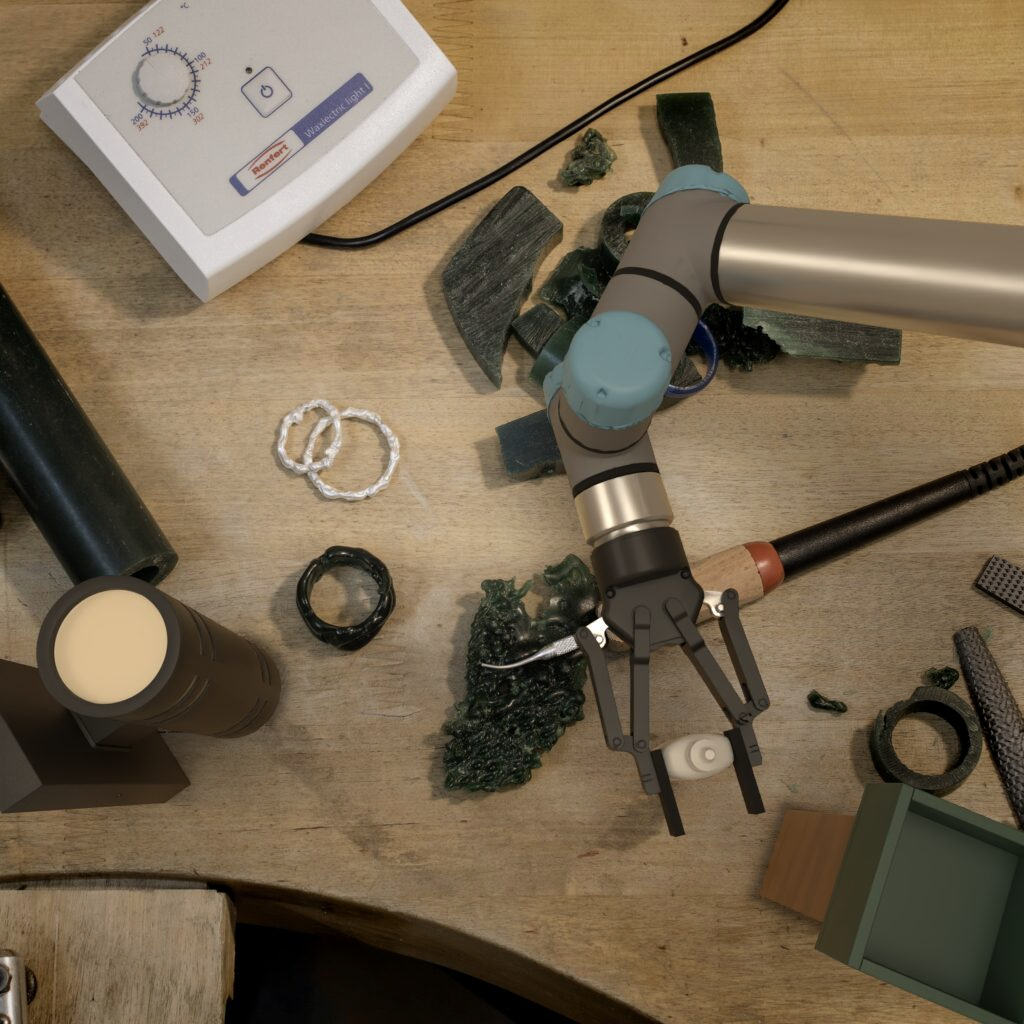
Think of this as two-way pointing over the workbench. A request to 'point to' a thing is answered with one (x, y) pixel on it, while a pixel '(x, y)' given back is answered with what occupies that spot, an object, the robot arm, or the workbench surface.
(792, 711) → the workbench surface
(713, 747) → the eye dropper bottle
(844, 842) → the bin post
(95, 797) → the light fixture
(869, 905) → the waste bin
